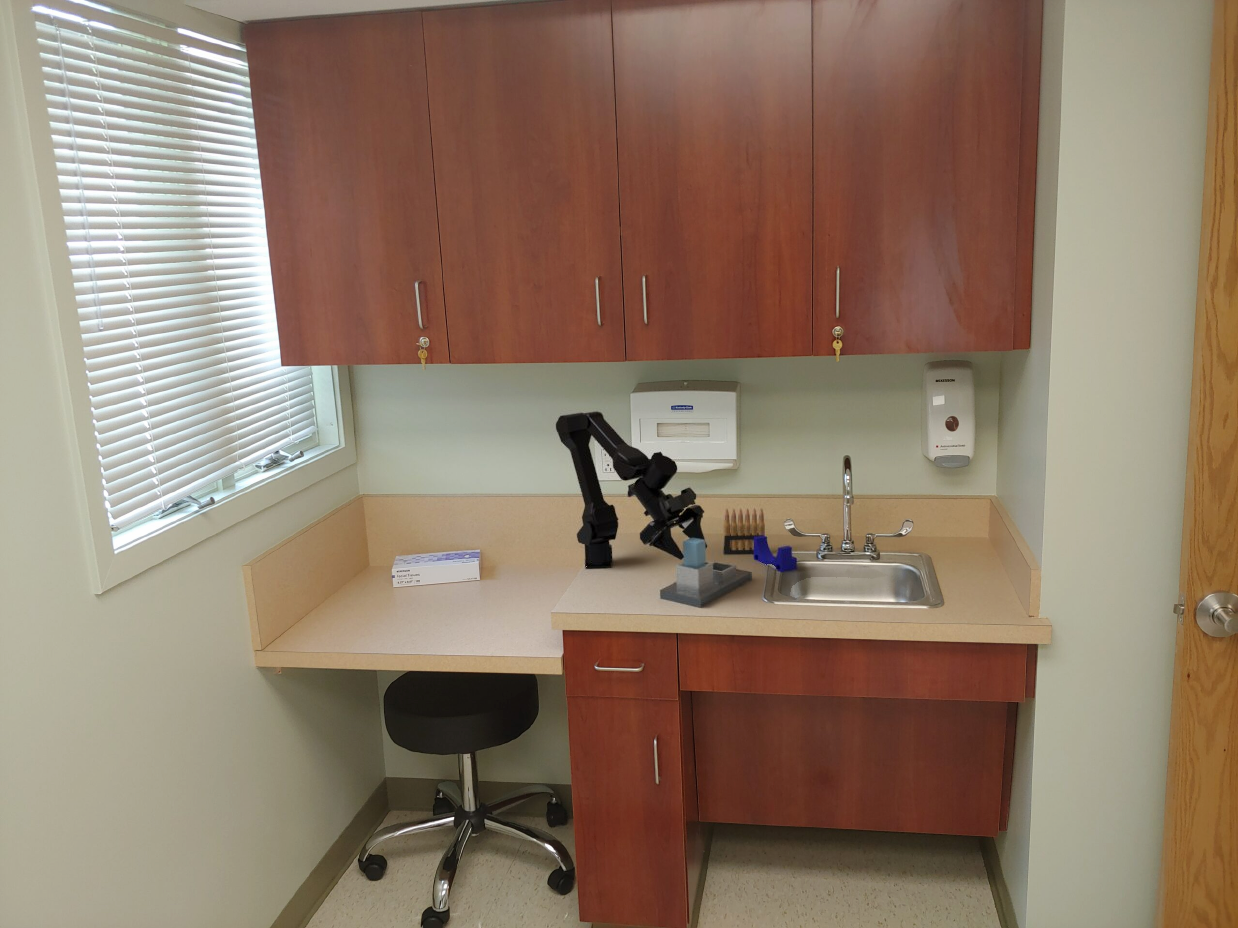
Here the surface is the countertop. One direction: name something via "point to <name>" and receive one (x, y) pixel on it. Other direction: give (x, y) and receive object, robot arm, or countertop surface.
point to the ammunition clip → (742, 532)
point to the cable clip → (764, 555)
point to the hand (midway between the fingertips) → (694, 553)
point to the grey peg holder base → (704, 583)
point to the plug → (694, 553)
